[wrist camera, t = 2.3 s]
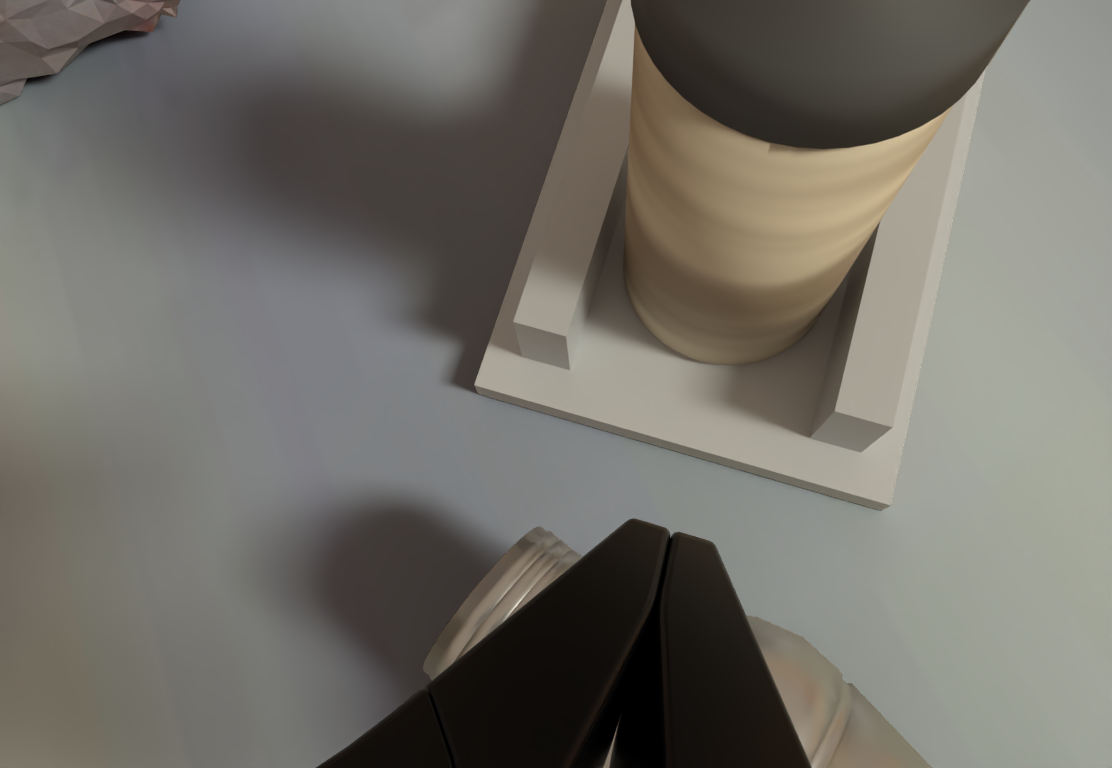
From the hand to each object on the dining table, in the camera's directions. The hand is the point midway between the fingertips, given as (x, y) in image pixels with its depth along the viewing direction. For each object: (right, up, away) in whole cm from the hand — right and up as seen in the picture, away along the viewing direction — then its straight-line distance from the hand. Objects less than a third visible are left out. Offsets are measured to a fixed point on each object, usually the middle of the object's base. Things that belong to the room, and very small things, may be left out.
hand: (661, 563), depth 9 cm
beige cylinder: (+3, +5, +14) cm, 15 cm away
